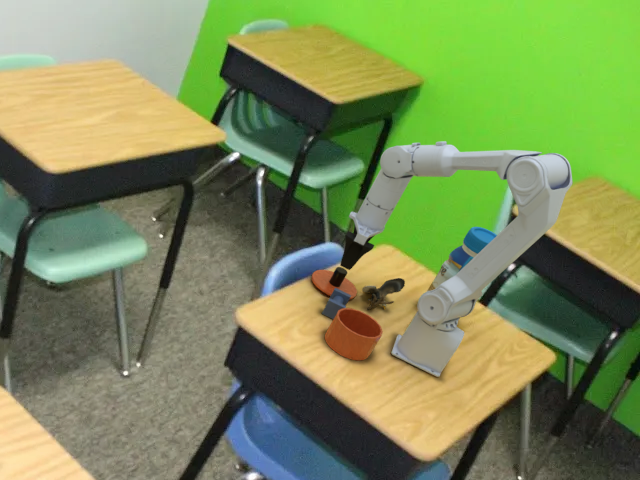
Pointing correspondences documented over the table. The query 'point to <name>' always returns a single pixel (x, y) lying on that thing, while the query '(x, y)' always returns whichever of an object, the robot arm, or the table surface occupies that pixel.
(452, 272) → the beverage bottle
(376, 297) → the eagle figurine
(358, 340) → the pot
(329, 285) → the lid
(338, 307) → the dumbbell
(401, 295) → the table surface
